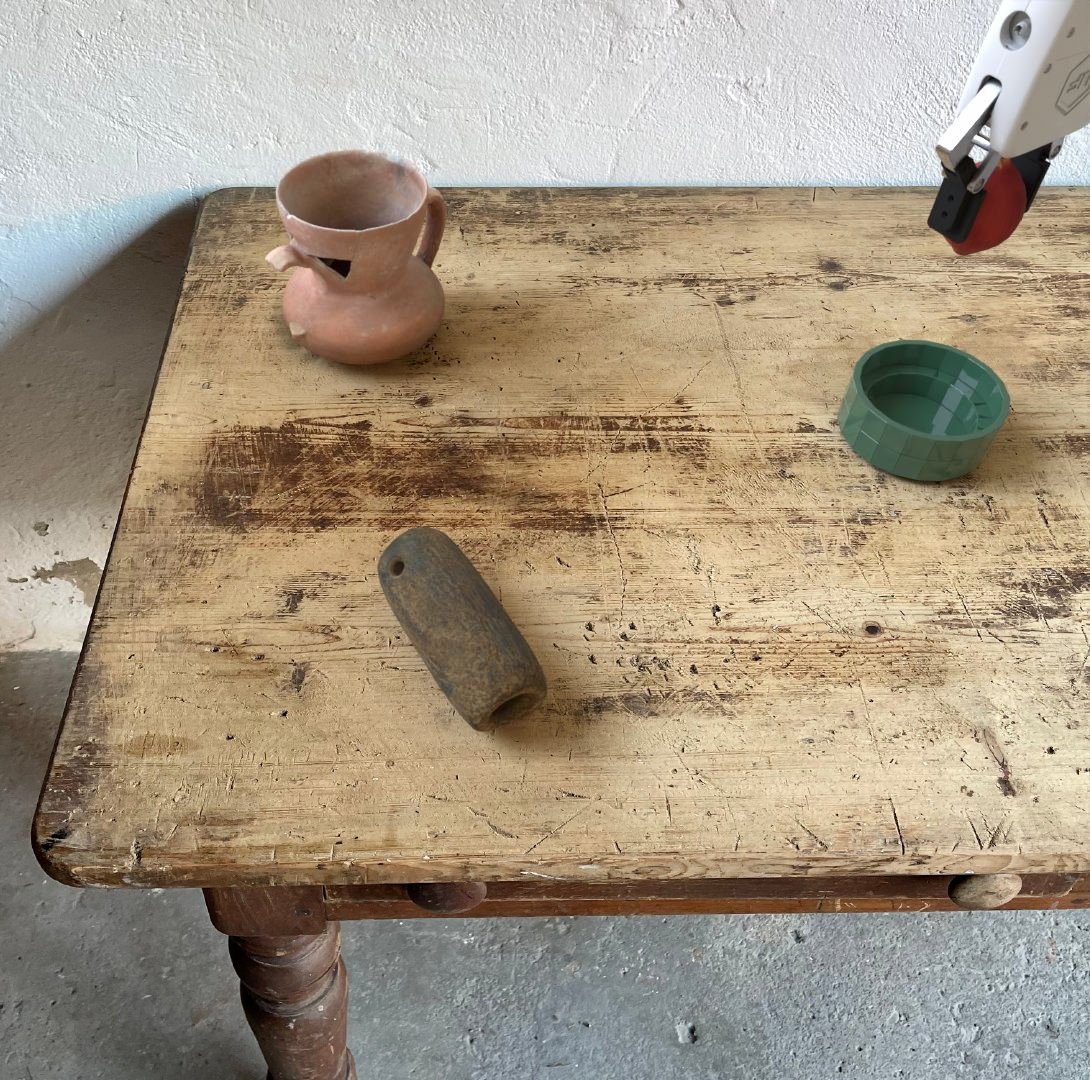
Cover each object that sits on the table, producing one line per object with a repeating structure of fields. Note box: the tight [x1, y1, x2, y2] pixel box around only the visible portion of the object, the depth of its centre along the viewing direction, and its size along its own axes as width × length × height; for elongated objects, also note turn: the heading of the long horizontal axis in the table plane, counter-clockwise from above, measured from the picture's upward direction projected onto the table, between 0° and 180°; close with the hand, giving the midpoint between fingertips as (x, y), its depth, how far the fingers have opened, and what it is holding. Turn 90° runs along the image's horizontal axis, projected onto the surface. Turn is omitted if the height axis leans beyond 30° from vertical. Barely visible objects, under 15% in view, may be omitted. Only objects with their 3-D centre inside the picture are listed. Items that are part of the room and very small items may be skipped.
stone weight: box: [376, 526, 548, 733], centre depth 68 cm, size 15×7×7 cm, turn 34°
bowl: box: [836, 339, 1011, 482], centre depth 82 cm, size 12×12×5 cm
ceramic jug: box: [264, 148, 447, 365], centre depth 86 cm, size 18×14×14 cm
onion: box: [943, 157, 1027, 257], centre depth 72 cm, size 6×6×8 cm
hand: (977, 217), depth 73 cm, fingers closed on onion, 5 cm apart
